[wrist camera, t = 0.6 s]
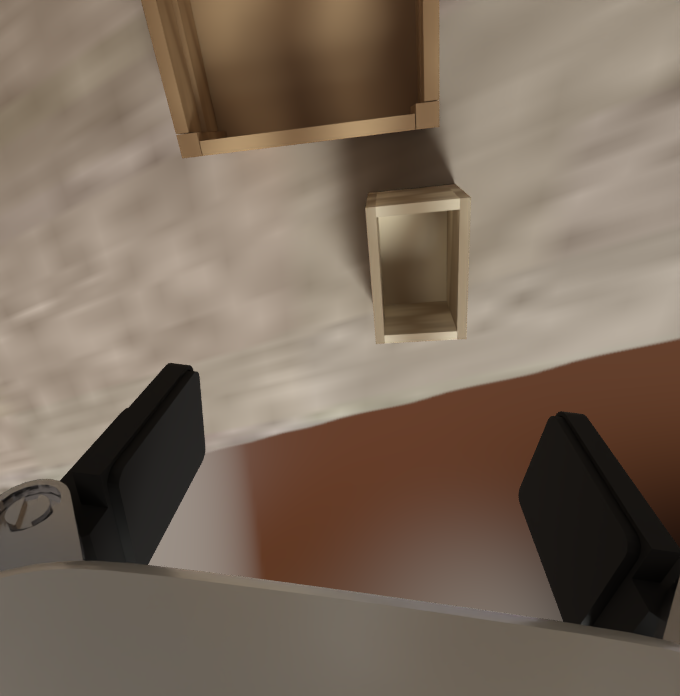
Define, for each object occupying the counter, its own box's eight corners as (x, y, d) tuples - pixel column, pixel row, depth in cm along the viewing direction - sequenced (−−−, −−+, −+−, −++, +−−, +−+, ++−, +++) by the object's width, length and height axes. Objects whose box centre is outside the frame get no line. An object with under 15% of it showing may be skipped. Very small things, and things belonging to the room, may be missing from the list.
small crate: (454, 183, 29) (471, 197, 24) (453, 304, 33) (466, 338, 28) (368, 193, 30) (365, 207, 24) (377, 309, 34) (376, 343, 29)
